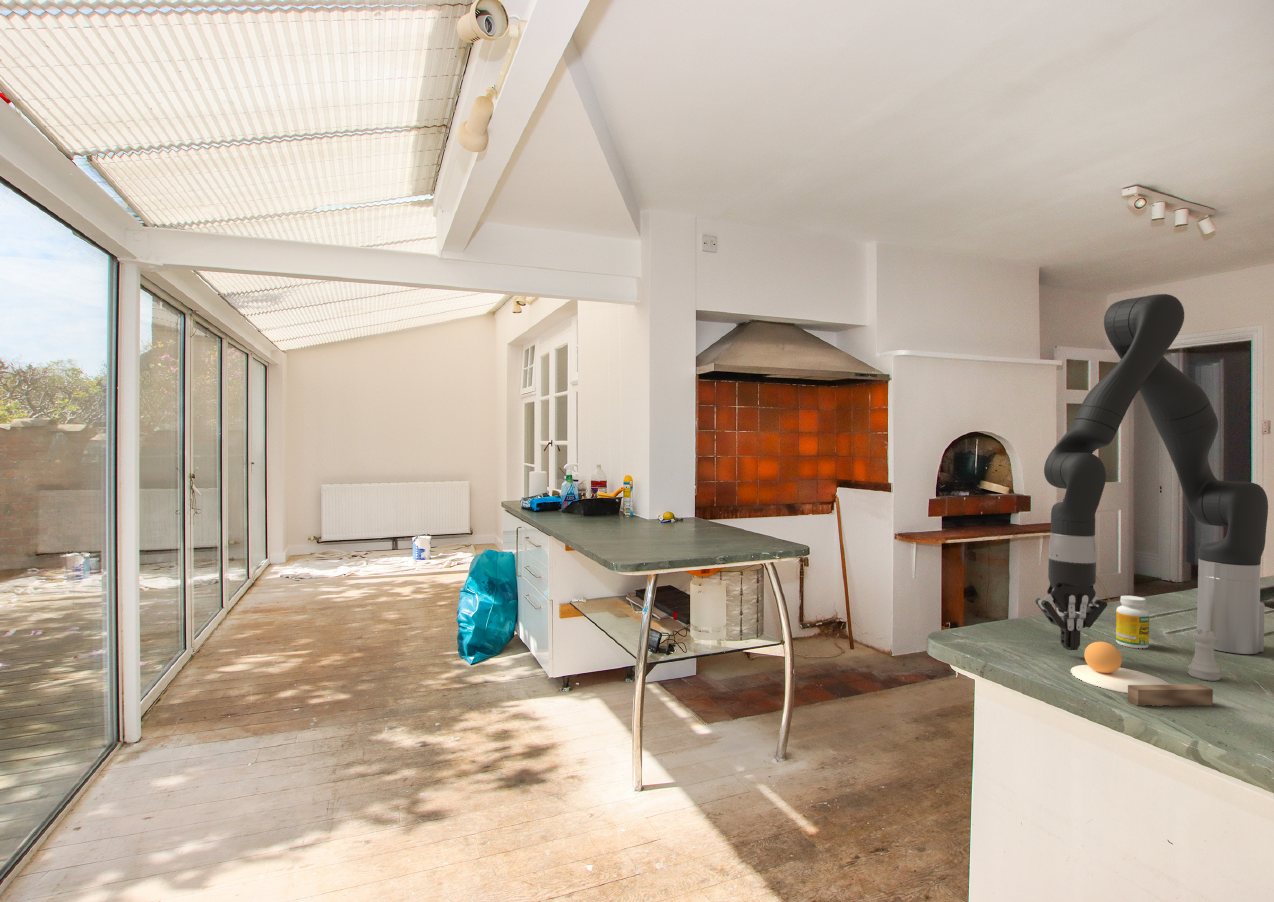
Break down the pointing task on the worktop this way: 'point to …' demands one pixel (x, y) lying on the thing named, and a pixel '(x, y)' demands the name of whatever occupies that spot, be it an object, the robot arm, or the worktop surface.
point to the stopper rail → (1170, 695)
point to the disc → (1115, 678)
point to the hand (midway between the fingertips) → (1070, 648)
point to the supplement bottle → (1132, 622)
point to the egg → (1103, 657)
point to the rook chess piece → (1204, 657)
